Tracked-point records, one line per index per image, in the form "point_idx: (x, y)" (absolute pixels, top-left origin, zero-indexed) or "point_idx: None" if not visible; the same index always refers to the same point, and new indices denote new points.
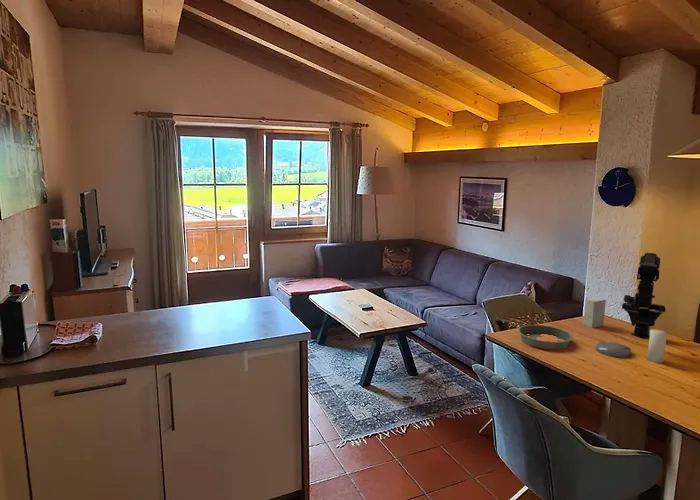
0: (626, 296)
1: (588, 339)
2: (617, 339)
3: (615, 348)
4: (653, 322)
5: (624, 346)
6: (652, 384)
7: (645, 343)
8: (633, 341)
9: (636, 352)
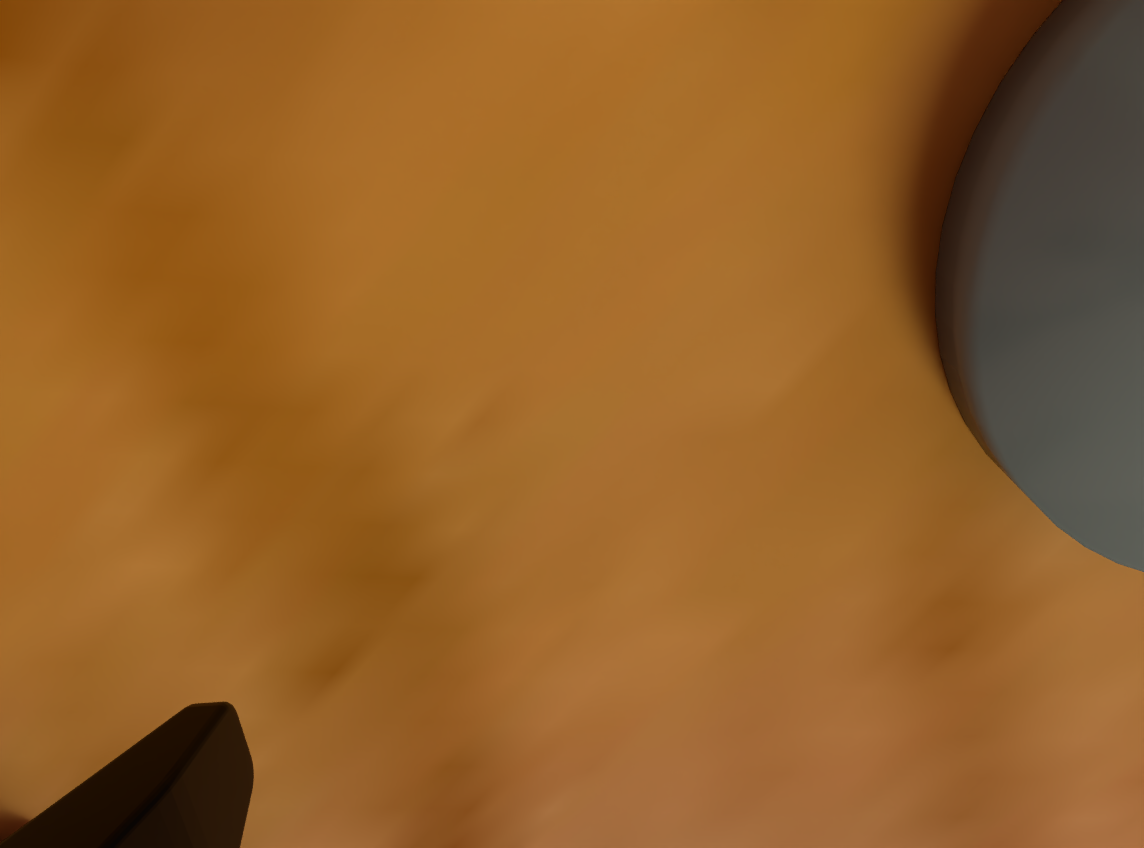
0: None
1: (1134, 812)
2: (608, 804)
3: None
4: (60, 824)
5: (1038, 296)
6: None
7: (166, 608)
8: (358, 711)
9: (796, 129)
